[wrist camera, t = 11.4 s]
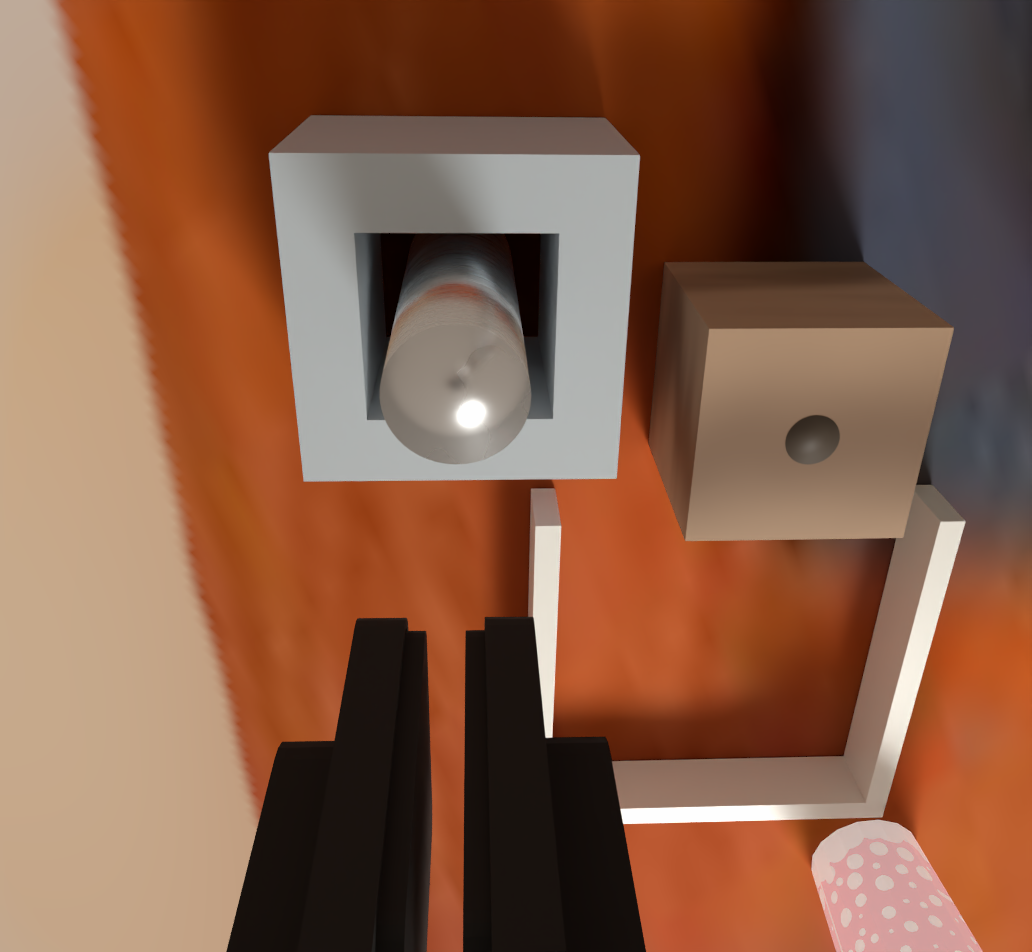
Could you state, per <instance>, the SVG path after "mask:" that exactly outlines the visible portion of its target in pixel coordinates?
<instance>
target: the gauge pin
mask: <svg viewBox="0 0 1032 952" xmlns="http://www.w3.org/2000/svg"><path fill="white" fill-rule="evenodd" d="M380 404H381V409H382V413H383V416H384V418H385V421H386V423H387V425H388V427H389V428H390V430H391V432H392V433H393V434H394V435H395V437H396V438H397V439H398V440H399V441H400V442H401V443H402V444H403V445H404V446H405V447H407V448H408V449H409V450H411V451H412V452H414V453H416V454H417V455H419V456H421V457H423V458H426V459H428V460H431V461H435V462H438V463H444V464H468V463H474V462H478V461H481V460H484V459H487V458H489V457H491V456H493V455H495V454H497V453H498V452H500V451H502V450H503V449H504V448H505V447H507V446H508V445H509V444H510V443H511V442H512V441H513V440H514V439H515V438H516V437H517V435H518V434H519V433H520V431H521V430H522V428H523V426H524V424H525V422H526V419H527V417H528V414H529V410H530V405H531V385H530V379H529V372H528V365H527V358H526V352H525V345H524V338H523V331H522V324H521V318H520V311H519V304H518V297H517V291H516V284H515V277H514V270H513V263H512V257H511V251H510V247H509V244H508V241H507V239H506V237H505V235H504V234H503V233H416V234H415V236H414V238H413V241H412V243H411V247H410V251H409V255H408V260H407V264H406V269H405V273H404V278H403V282H402V287H401V292H400V296H399V301H398V305H397V310H396V314H395V319H394V323H393V328H392V332H391V337H390V341H389V346H388V351H387V355H386V360H385V364H384V369H383V373H382V378H381V383H380Z"/></svg>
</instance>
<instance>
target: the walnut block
mask: <svg viewBox="0 0 1032 952" xmlns="http://www.w3.org/2000/svg"><path fill="white" fill-rule="evenodd" d="M953 330H954V327H952V326H951V325H950V324H948V323H947V322H946V321H944V320H943V319H941V318H940V317H939V316H937V315H936V314H935V313H933V312H932V311H931V310H929V309H928V308H926V307H925V306H924V305H922V304H921V303H920V302H918V301H917V300H915V299H914V298H913V297H911V296H910V295H909V294H907V293H906V292H904V291H903V290H902V289H900V288H899V287H898V286H896V285H895V284H894V283H892V282H891V281H889V280H888V279H887V278H885V277H884V276H883V275H881V274H880V273H878V272H877V271H876V270H874V269H873V268H872V267H870V266H869V265H868V264H866V263H865V262H664V270H663V282H662V293H661V305H660V317H659V328H658V340H657V351H656V363H655V374H654V386H653V397H652V409H651V421H650V432H649V447H650V449H651V452H652V455H653V457H654V460H655V463H656V465H657V468H658V470H659V473H660V476H661V478H662V481H663V484H664V486H665V489H666V492H667V494H668V497H669V499H670V502H671V505H672V507H673V510H674V513H675V515H676V518H677V520H678V523H679V526H680V528H681V531H682V534H683V536H684V539H685V541H721V540H791V539H861V538H903V536H904V532H905V528H906V524H907V520H908V516H909V512H910V508H911V503H912V499H913V495H914V491H915V487H916V483H917V479H918V475H919V470H920V466H921V462H922V458H923V454H924V450H925V446H926V442H927V437H928V433H929V429H930V425H931V421H932V417H933V413H934V409H935V405H936V400H937V396H938V392H939V388H940V384H941V380H942V376H943V372H944V367H945V363H946V359H947V355H948V351H949V347H950V343H951V339H952V335H953Z"/></svg>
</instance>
